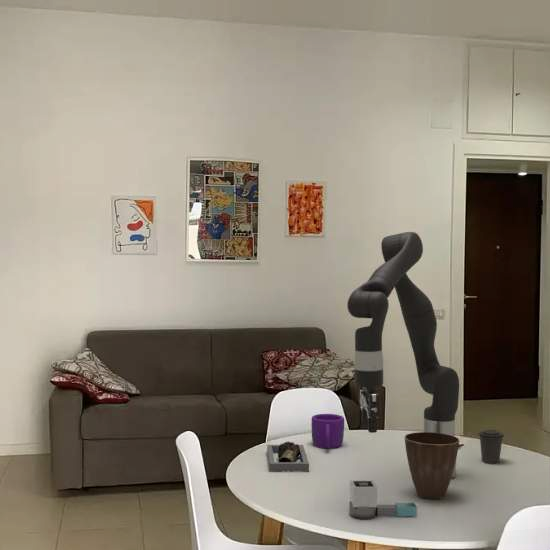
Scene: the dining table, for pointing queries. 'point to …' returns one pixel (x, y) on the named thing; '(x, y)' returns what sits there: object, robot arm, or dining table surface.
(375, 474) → the dining table surface
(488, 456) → the coffee cup
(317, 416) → the mug
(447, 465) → the plant pot
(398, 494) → the dining table surface
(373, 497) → the square metal tube
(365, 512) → the ratchet
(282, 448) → the rough wooden branch
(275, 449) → the gray rectangular tray
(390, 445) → the dining table surface
